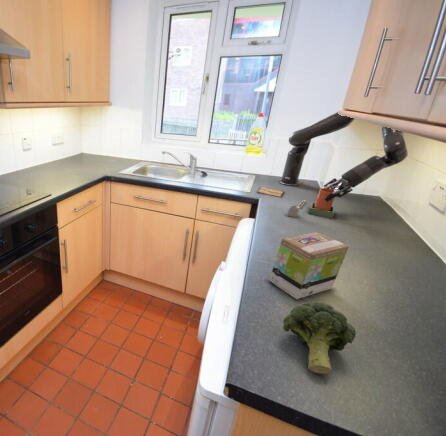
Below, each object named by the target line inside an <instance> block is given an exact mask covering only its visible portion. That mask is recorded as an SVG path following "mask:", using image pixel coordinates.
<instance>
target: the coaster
mask: <svg viewBox="0 0 446 436" xmlns="http://www.w3.org/2000/svg"><path fill="white" fill-rule="evenodd" d="M283 193H284V190H280V189H275V188H269V187H264V186H263V187H260V188H259V190H258V191H257V194H262V195H267V196H273V197H278V198H281V197H282V196H283Z"/></svg>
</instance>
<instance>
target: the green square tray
mask: <svg viewBox="0 0 446 436" xmlns="http://www.w3.org/2000/svg"><path fill="white" fill-rule="evenodd" d="M314 206H315V202H311V203H310V206H309V209H308V214H309V215H313V216H317V217H318V216H319V217H323V218H329V219H334V216H335V212H336V208H335V206H333V205H332V206H331V209H330V210H329V211H326V210H321V209H317V208H315V207H314Z"/></svg>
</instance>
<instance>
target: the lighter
mask: <svg viewBox="0 0 446 436" xmlns="http://www.w3.org/2000/svg"><path fill="white" fill-rule="evenodd" d="M307 204H308V201H307V200H305V199H303V200H302V201H301V202H300V204H298V205H296V204H292V205H291V206H288V207H287V211H286V217H292V218H293V217H294V218H297V217H298V213H299V210H303V209H304V208H305V206H306V205H307Z"/></svg>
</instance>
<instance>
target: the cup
mask: <svg viewBox="0 0 446 436" xmlns="http://www.w3.org/2000/svg"><path fill="white" fill-rule="evenodd" d="M334 191H335V190H331V189H330V188H329V189H326V188H324V187H322V188H321V187H320V188H319V190H318V192H319V193H318V192H317V193H318V194H317V196H316V198H315V199H316V200H315V202H314V203H315V206H314V207H315V208H317V209H321V210H326V211H329V210H330V209H331V206H333V203H334V200H335V197H334V198H333V199H331V200H329V201H326V200H325V199H324V198H325V197H326V196H328V195H329V194H331V193H333V192H334Z"/></svg>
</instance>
